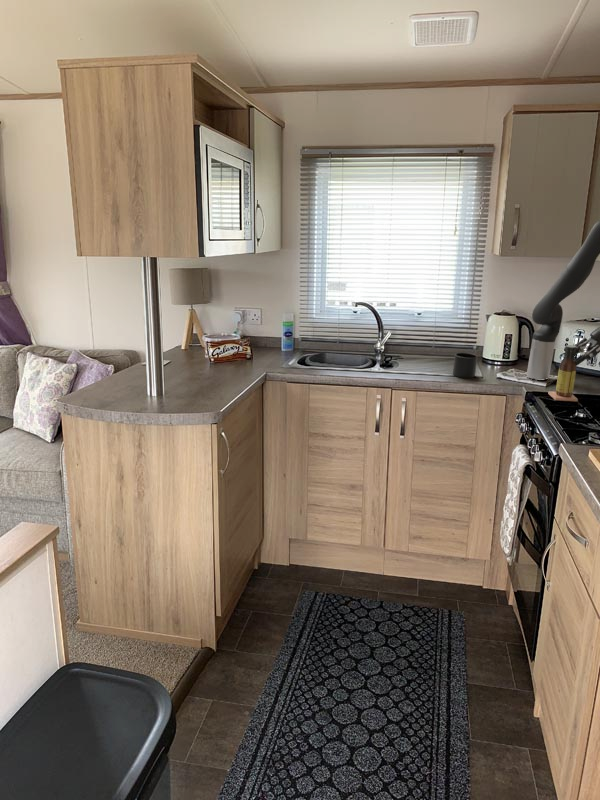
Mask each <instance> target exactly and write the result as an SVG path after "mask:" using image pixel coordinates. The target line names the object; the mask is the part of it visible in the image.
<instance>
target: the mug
mask: <svg viewBox="0 0 600 800" xmlns="http://www.w3.org/2000/svg"><path fill="white" fill-rule="evenodd" d="M477 362H478V355H476V354H474V353H469V352H458V353H457V352H456V353H455V354H454V361H453V369H452V375H453V376H455V377H457V378H462V379H473V378H474V377H476V369H477Z"/></svg>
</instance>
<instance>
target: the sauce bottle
mask: <svg viewBox="0 0 600 800" xmlns="http://www.w3.org/2000/svg"><path fill="white" fill-rule="evenodd" d="M576 349H577V347H576V346H574V345H571V344H568V345H567V344H566V345H565V346H564V355H563V358H562V360H561V361H560V364H559V366H558V367H559V368H558V372H557V373H558V374H557V381H556V386H555V387H556V388H555V390H556V391H555V392H556V394H558V395H560V396H565V397H569V396H572V395H573V392H574V388H575V380H576V374H577V366H578V365H575V364H574V362H573V361H574V360H575V359H576V358H575V357H576V355H575V351H576Z"/></svg>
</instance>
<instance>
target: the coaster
mask: <svg viewBox="0 0 600 800" xmlns="http://www.w3.org/2000/svg"><path fill="white" fill-rule="evenodd" d="M547 393H548V395H549V396H550V397H551V398H552V399H553V400H554V401H560V402H561V401H563V402H578V401H579V399H578V398H577V397H576V396H575V395H574V394H572V396H569V397H565V396H560V395H558V394H556V391H552V390H551V391H549V390H548V392H547Z"/></svg>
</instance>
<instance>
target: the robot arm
mask: <svg viewBox="0 0 600 800" xmlns="http://www.w3.org/2000/svg"><path fill="white" fill-rule="evenodd" d="M599 255H600V219H599V220H597V221H596V222H595V223H594V225H593V226H592V228H591V229H590V231H589V233H588V235H587V236H586V238H585V240H584V242H583V243H582V245H581V247H580V248H579V249H578V251H576V253H575V254H574V255H573V257H572V259H570V260H569V262H568V263H567V265H566V266H565V268H564V269H563V270H562V271H561V273H560V275H559V276H558V278H557V279H556V281H555V282H554V284H552V285H551V287H550V289H549V290H548V291H547V292H546V293H545V295H544V296H543V297H542V298H541V299H540V301H538V303H537V304H536V305H535V306H534V308H533V310H532V314H531V317H532V322H533V323H535V324H537V325H541V327H540V328H538V329H537V330H536V331H535V332H533V335H532V340H531V346H530V352H529V359H528V363H527V364H528V365H527V370H526V375H527V376H528V377H530V378H535V379H546V378H549V377H550V373H551V368H552V367H551V366H552V362H553V355H554V351H555V345H556V340H557V337H558V335H559V333H560V329H561V324H562V321H563V315H564V312H563V311H564V310H563V308H562V306H561V304H560V303H562V301H564V299H566V298H568V297H569V296H570V295H572V294H573V293H575V292H576V291H577V290H579V288H581V287H582V286H583V285H584V283H585V282H586V280H587V279H588V278H589V276H590V275H591V273H592V271H593V268H594V266H595V263H596V260H597V259H598V257H599ZM589 335H590V338H589V339H588V338H587V337H584V338H582V339H581V340H580V341H578V342H577V343H575V344H574V345H573V346H576V347H577V349H576V351H575V356H577V355H578V354H581V355H579V356H578V357H577V358H575V360H574V361H573V362H574V364H575V365H577V366H579V365H580V364H582V363H583V362H584V361H587V360H588V361H590V360H592V359H593V358H595V357H596V356H597V355H598V354H599V353H600V326H598V327H596V329H594V330H593V331H591V332H590V334H589ZM549 379H550V378H549Z"/></svg>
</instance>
